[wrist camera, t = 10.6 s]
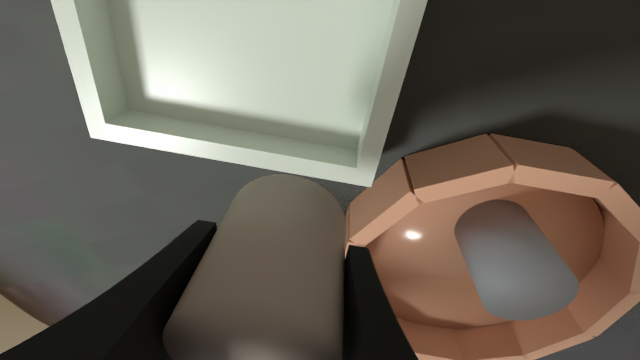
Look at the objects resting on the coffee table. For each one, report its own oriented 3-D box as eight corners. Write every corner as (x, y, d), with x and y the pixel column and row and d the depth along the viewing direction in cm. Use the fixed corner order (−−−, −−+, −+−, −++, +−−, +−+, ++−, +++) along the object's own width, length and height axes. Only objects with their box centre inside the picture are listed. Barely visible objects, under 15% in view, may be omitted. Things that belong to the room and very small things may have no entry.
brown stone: (336, 270, 13) (329, 409, 9) (232, 254, 13) (176, 385, 9) (355, 184, 10) (358, 319, 6) (228, 165, 10) (146, 287, 6)
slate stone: (512, 255, 21) (552, 324, 16) (446, 248, 21) (469, 315, 17) (542, 203, 18) (598, 269, 14) (466, 196, 18) (500, 259, 14)
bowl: (521, 338, 27) (542, 381, 24) (322, 304, 27) (318, 343, 24) (686, 168, 17) (753, 207, 14) (372, 112, 17) (376, 139, 14)
